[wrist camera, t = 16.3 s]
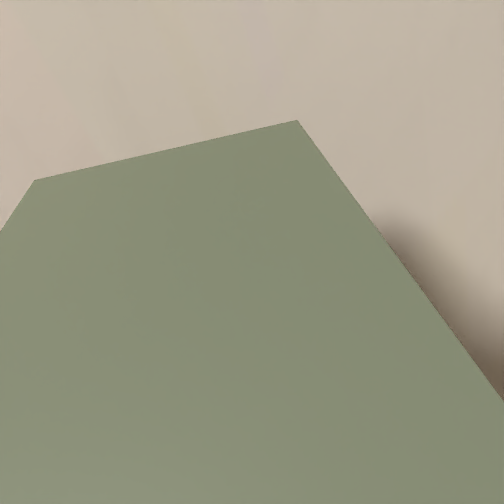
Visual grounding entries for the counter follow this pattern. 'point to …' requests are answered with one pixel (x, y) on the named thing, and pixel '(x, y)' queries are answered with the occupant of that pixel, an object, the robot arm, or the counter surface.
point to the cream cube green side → (228, 342)
